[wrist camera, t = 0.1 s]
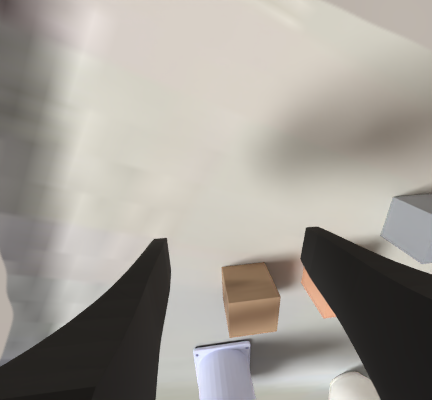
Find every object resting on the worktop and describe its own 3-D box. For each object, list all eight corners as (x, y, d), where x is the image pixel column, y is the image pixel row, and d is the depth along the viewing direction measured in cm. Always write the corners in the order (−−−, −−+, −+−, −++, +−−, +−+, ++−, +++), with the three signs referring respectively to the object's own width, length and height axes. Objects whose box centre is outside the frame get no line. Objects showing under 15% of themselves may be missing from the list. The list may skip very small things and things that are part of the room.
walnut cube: (262, 293, 27) (276, 331, 22) (223, 297, 26) (229, 337, 22) (263, 261, 25) (280, 296, 20) (221, 266, 24) (228, 303, 20)
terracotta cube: (338, 277, 27) (367, 312, 23) (300, 282, 27) (323, 318, 22) (346, 245, 25) (380, 276, 21) (306, 250, 25) (332, 282, 20)
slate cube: (418, 231, 25) (468, 258, 21) (379, 235, 25) (421, 264, 20) (434, 192, 23) (493, 213, 19) (392, 196, 23) (442, 218, 18)
